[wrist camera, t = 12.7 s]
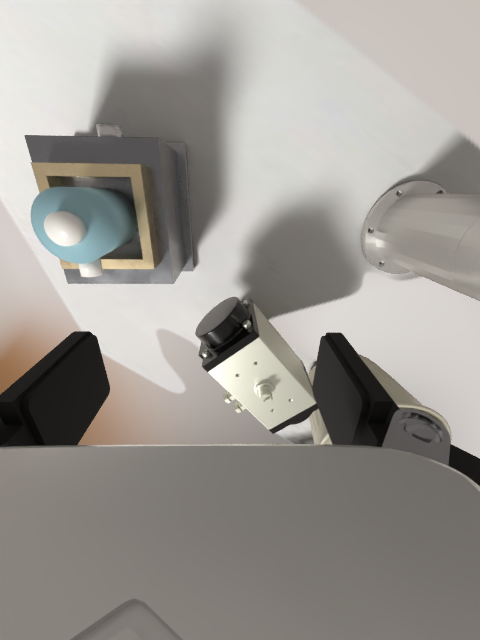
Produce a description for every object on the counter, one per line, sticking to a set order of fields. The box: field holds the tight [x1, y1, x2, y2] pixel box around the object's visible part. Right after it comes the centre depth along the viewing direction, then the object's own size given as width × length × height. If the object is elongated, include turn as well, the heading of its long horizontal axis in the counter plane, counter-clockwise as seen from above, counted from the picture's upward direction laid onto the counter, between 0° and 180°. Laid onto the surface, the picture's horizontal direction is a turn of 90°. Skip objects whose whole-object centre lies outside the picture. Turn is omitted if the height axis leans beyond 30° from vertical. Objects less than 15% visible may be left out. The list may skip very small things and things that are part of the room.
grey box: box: [24, 124, 194, 284], centre depth 30 cm, size 14×17×12 cm
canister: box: [308, 355, 451, 444], centre depth 40 cm, size 18×18×21 cm
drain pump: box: [31, 187, 138, 277], centre depth 23 cm, size 6×7×9 cm
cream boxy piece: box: [195, 297, 318, 433], centre depth 36 cm, size 18×8×18 cm, turn 38°
